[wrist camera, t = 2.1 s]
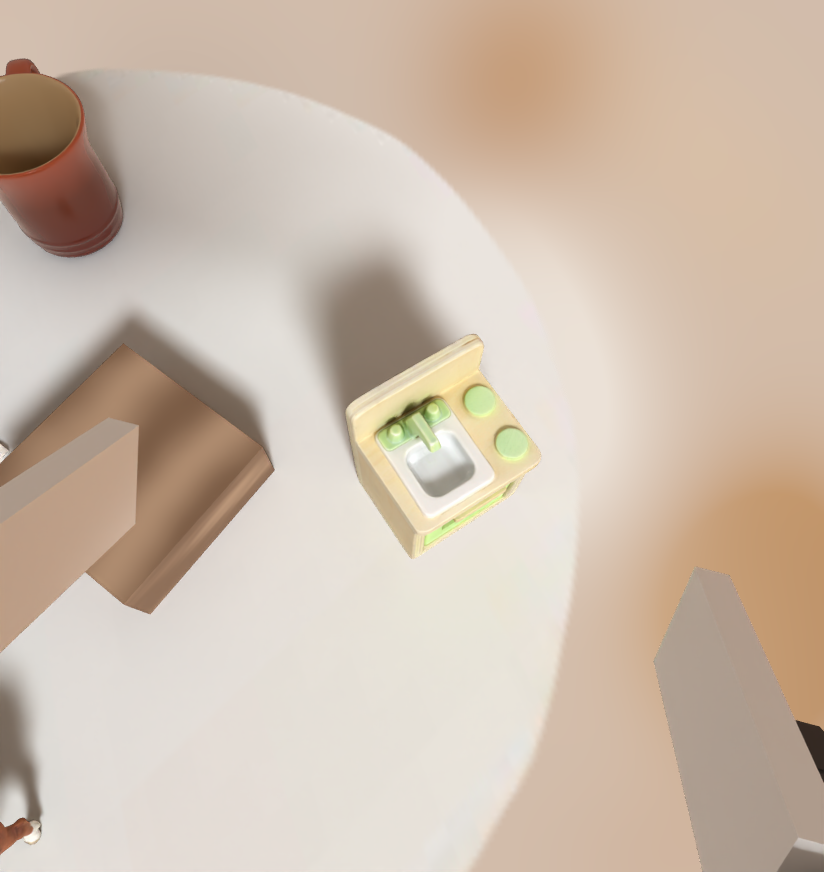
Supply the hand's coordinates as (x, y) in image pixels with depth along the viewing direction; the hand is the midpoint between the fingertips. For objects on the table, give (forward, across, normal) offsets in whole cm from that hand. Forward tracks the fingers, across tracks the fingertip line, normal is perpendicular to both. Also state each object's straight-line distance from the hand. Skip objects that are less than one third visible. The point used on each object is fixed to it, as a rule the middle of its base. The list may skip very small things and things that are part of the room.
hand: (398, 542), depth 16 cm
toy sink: (+28, 0, -14) cm, 32 cm away
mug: (+39, -33, -3) cm, 51 cm away
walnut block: (+25, -19, -17) cm, 36 cm away
